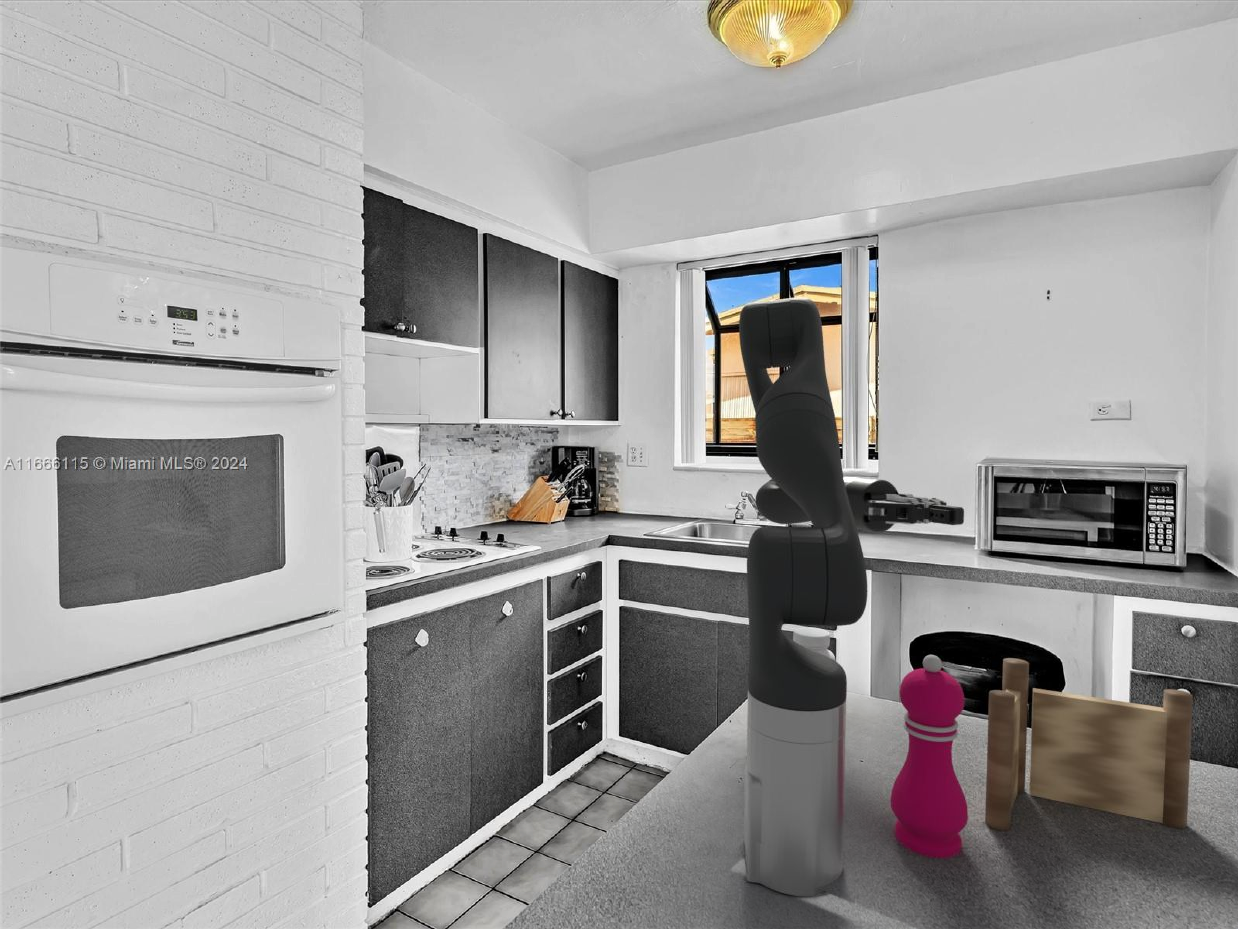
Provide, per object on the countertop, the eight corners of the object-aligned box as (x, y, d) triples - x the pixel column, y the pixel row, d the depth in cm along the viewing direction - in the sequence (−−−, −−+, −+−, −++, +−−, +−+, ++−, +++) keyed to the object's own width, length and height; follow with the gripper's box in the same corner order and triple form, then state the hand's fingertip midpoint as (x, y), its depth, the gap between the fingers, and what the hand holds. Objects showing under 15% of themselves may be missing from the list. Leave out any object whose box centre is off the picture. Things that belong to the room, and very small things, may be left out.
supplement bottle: (811, 730, 101) (813, 641, 100) (774, 713, 107) (776, 629, 106) (844, 719, 105) (846, 633, 104) (807, 704, 111) (809, 622, 110)
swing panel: (1030, 797, 81) (1034, 676, 80) (1029, 787, 83) (1033, 669, 82) (1189, 831, 74) (1195, 699, 73) (1184, 820, 76) (1189, 691, 76)
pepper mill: (975, 875, 68) (982, 669, 67) (896, 865, 70) (901, 664, 69) (956, 833, 75) (961, 647, 74) (884, 825, 77) (888, 642, 76)
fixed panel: (1001, 781, 85) (1005, 656, 84) (1026, 787, 83) (1030, 661, 82) (982, 825, 75) (986, 685, 74) (1009, 833, 73) (1014, 691, 73)
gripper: (823, 478, 101) (922, 487, 85) (892, 476, 107) (997, 485, 91) (822, 531, 101) (920, 550, 86) (891, 526, 107) (995, 543, 91)
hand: (959, 516), depth 88 cm, fingers closed
